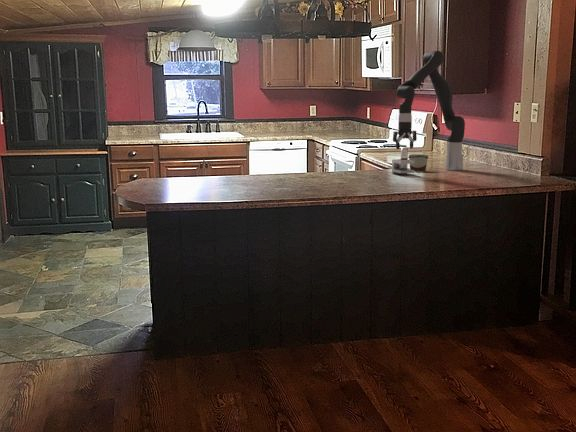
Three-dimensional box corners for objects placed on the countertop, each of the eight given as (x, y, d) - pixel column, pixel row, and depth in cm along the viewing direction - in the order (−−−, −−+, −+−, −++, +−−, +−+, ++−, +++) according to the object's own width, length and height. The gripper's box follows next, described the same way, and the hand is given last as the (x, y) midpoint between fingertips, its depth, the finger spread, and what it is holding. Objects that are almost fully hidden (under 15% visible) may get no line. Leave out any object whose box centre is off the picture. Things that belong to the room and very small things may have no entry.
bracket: (403, 172, 392) (404, 158, 391) (414, 175, 380) (414, 160, 378) (390, 173, 389) (390, 159, 388) (400, 176, 377) (400, 161, 376)
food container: (427, 170, 404) (427, 154, 402) (428, 171, 398) (428, 155, 396) (407, 170, 405) (407, 154, 403) (407, 171, 399) (408, 155, 397)
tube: (405, 174, 385) (405, 147, 382) (408, 175, 382) (409, 147, 379) (398, 174, 384) (399, 147, 381) (402, 175, 380) (402, 148, 377)
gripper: (412, 120, 382) (412, 147, 386) (391, 121, 378) (390, 148, 381) (419, 120, 375) (418, 148, 379) (397, 121, 371) (396, 150, 374)
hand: (404, 148), depth 380 cm, fingers open, 8 cm apart
